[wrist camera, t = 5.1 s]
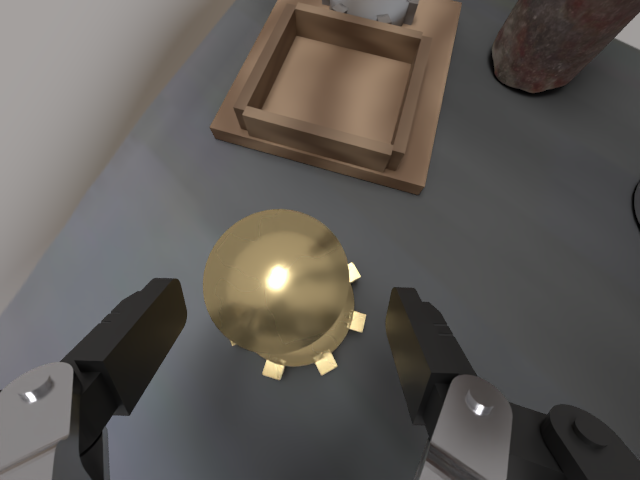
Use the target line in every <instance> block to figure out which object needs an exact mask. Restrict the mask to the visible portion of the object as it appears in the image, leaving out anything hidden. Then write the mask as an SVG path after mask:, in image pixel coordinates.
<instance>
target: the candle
mask: <svg viewBox="0 0 640 480" xmlns="http://www.w3.org/2000/svg"><path fill="white" fill-rule="evenodd" d="M639 12H640V0H518V2H517V3H516V5H515V6H514V8H513V10H512V11H511V13H510V15H509V16H508V18H507V20H506V21H505V23H504V25H503V26H502V28H501V29H500V31H499V33H498V35H497V37H496V39H495V41H494V43H493V46H492V58H493V62H494V69H495V71H494V73H495V75H496V77H497V78H498V80H499V81H501V82H502V83H503V84H506V85H507V86H510V87H513V88H519V89H522V90H524V91H526V92H530V93H537V92H542V91H545V90H548V89H554V88H557V87H562V86H564V85H566V84H568V83H569V82H570V81H571V80H572V79H573V78H574V77H575V76H576V75H577V74H578V73H579V72H580V71H581V70H582V69H583V68H584V67H585V66H586V65H587V64H588V63H589V62H590V61H591V60H592V59H593V58H594V57H595V56H596V55H597V54H599V53H600V52H601V51H602V50H603V49H604V48H605V47H606V46H607V45H608V44H609V43H610V42H611V41H612V40H613V39H614V38H615V37H616V36H617V34H618V33H619V32H620V31H621V30H622V29H623V28H624V27H625V26H626V25H627V24H628V23H629V22H630V21H631V20H632V19H633V18H634V17H635V16H636V15H637V14H638V13H639Z"/></svg>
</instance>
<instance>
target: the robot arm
mask: <svg viewBox="0 0 640 480" xmlns="http://www.w3.org/2000/svg"><path fill="white" fill-rule="evenodd" d="M634 206H635V211H636V216H637V219H638V221H639V224H640V183H639V184H638V186H637V189H636V191H635V198H634ZM186 319H187V309H186V305H185V301H184V296H183V292H182V288H181V284H180V281H179V280H178V279H172V278H154V279H152V280H151V281H150V282H149V283H148V284H147V285H146V286H145V287H144V288H143V289H142V290H141V291H137V292H136V293H134V294H132V295H130V296H129V297H127V298H125V299H124V300H122V301H121V302H120V303H119V304H118V305H117V306H116V307H115V308H114V309H113V310H112V311H111V314H108V315H107V316H106V317H105V318H104V319H103V320H102V321H101V324H100V323H99V324H98V325H97V326H96V327H95V328H94V329H93V330H92V331H91V332H90V333H89V334H88V335H87V336H86V337H85V338H84V339H83V340H82V341H80V342H79V343H78V344H77V345H76V346H75V347H74V348H73V349H72V350H71V351H70V352H69V353H68V354H67V355H66V356H65V357H64V358H63V359H62V360H61V361H60V362H55V363H49V364H45V365H42V366H39V367H37V368H34V369H32V370H30V371H28V372H26V373H24V374H23V375H21V376H19V377H18V378H16V379H15V380H14V381H12V382H11V383H10V384H8V385H7V386H6V387H5V388H4V389H3V390H0V480H110V469H109V447H108V431H107V428H106V424H107V423H108V421H109V420H110V418H111V417H112V415H121V416H129V415H130V414H131V412H132V410H133V409H134V407H135V406H136V404H137V402H138V401H139V399H140V397H141V396H142V394H143V393H144V391H145V389H146V388H147V386H148V385H149V383H150V381H151V380H152V378H153V376H154V375H155V373H156V372H157V370H158V368H159V367H160V365H161V363H162V362H163V360H164V359H165V357H166V355H167V354H168V352H169V350H170V349H171V347H172V346H173V344H174V342H175V341H176V339H177V337H178V336H179V334H180V333H181V331H182V329H183V328H184V326H185V323H186ZM386 333H387V337H388V341H389V344H390V348H391V351H392V355H393V358H394V362H395V365H396V368H397V372H398V375H399V379H400V382H401V386H402V389H403V393H404V396H405V400H406V403H407V407H408V410H409V413H410V417H411V420H412V424H413V425H425V426H426V429H427V432H428V435H429V437H428V440H427V442H426V445H425V448H424V451H423V453H422V456H421V459H420V462H419V465H418V468H417V470H416V473H415V476H414V479H413V480H640V461H639V460H638V459H637V458H636V457H635V455H634V454H633V453H632V452H631V451H630V450H629V448H628V447H627V446H626V445H625V444H624V442H623V441H622V440H621V439H620V438H619V437H618V436H617V435H616V433H615V432H614V431H613V430H611V429H610V428H609V427H608V426H607V425H606V424H604V423H603V422H602V421H601V420H599V419H598V418H596V417H595V416H593V415H591V414H590V413H588V412H586V411H584V410H582V409H580V408H577V407H574V406H571V405H565V404H560V405H556V406H554V407H553V408H552V409H551V410H550V412H549V413H548V414H547V415H546V414H543V413H540V412H537V411H534V410H531V409H528V408H525V407H522V406H519V405H515V404H513V403H510V402H508V401H507V399H506V398H505V397H504V395H503V394H502V393H501V392H500V391H499V390H498V389H497V388H496V387H495V386H493V385H492V384H490V383H489V382H487V381H486V380H484V379H482V378H479V377H478V376H477V375H476V373H475V371H474V370H473V368H472V366H471V365H470V363H469V361H468V359H467V358H466V356H465V354H464V352H463V351H462V349H461V347H460V346H459V344H458V342H457V340H456V339H455V337H454V336H453V333H452V332H451V330H450V328H449V327H448V326H447V323H446V321H445V320H444V318H443V316H442V314H441V313H440V312H439V311H438V310H437V309H436V308H435V307H434V306H433V305H431V304H430V303H429V302H422V301H421V299H420V297H419V295H418V293H417V291H416V289H415V288H401V287H394V288H393V289H392V292H391V296H390V301H389V306H388V311H387V316H386Z"/></svg>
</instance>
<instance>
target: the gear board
mask: <svg viewBox="0 0 640 480" xmlns="http://www.w3.org/2000/svg"><path fill="white" fill-rule="evenodd" d="M461 5H462V3H460V2H456V1H451V0H278V1H277V2H276V4H275V6H274V8H273V10H272V12H271V14H270V16H269V17H268V19H267V21H266V23H265V25H264V27H263V29H262V30H261V32H260V34H259V36H258V38H257V40H256V42H255V44H254V45H253V47H252V49H251V51H250V53H249V55H248V57H247V58H246V60H245V62H244V64H243V66H242V68H241V70H240V71H239V73H238V75H237V77H236V79H235V81H234V83H233V85H232V86H231V88H230V90H229V92H228V94H227V96H226V98H225V99H224V101H223V103H222V105H221V107H220V109H219V111H218V112H217V114H216V116H215V118H214V120H213V122H212V124H211V126H210V129H211V131H212V133H213V135H214V137H215V138H216V139H219V140H223V141H226V142H230V143H233V144H237V145H241V146H244V147H248V148H251V149H255V150H259V151H262V152H266V153H269V154H273V155H276V156H280V157H284V158H287V159H291V160H294V161H298V162H301V163H305V164H309V165H312V166H316V167H319V168H323V169H326V170H330V171H334V172H337V173H341V174H344V175H348V176H352V177H355V178H359V179H362V180H366V181H369V182H373V183H377V184H380V185H384V186H387V187H391V188H394V189H398V190H402V191H405V192H409V193H412V194H416V195H418V194H419V193H420V192H421V191H422V189H423V188H424V187H425V182H426V177H427V172H428V168H429V163H430V158H431V153H432V148H433V143H434V138H435V133H436V128H437V123H438V118H439V113H440V108H441V103H442V98H443V93H444V89H445V84H446V79H447V74H448V69H449V64H450V59H451V54H452V49H453V44H454V39H455V34H456V29H457V24H458V19H459V14H460V10H461Z"/></svg>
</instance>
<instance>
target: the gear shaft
mask: <svg viewBox="0 0 640 480" xmlns="http://www.w3.org/2000/svg"><path fill="white" fill-rule="evenodd" d="M360 277H361V276H360V274H359V273H358V271H357V269H356V267H355V266H354V264H353V262H352V263H350V264H348V262H347V258H346V255H345V252H344V250H343V248H342V246H341V244H340V242H339V241H338V239H337V238H336V236H335V235H334V234H333V233H332V232H331V231H330V230H329V229H328V228H327V227H326V226H325V225H324V224H323V223H321V222H320V221H318V220H317V219H315V218H313V217H311V216H309V215H307V214H304V213H301V212H297V211H293V210H285V209H273V210H266V211H262V212H258V213H255V214H252V215H250V216H247V217H245V218H244V219H242V220H240V221H238V222H237V223H235V224H234V225H233V226H231V227H230V228H229V229H228V230H227V231H226V232H225V233H224V234H223V235H222V236H221V237H220V238H219V240H218V241H217V243H216V244H215V246H214V247H213V249H212V251H211V253H210V255H209V257H208V260H207V263H206V266H205V271H204V277H203V294H204V300H205V304H206V307H207V310H208V312H209V315H210V317H211V319H212V321H213V322H214V324H215V325H216V326H217V328H218V329H219V330H220V331H221V332H222V333H223V335H224V336H226V337H227V338H228V339H229V340H230V342H231V344H232V346H235V345H238V346H240V347H242V348H244V349H247V350H249V351H253V352H256V353H257V354H259V355H260V356H261V357H263V358H264V359H266V360H267V361H266V364H265V367H264V370H263V373H262V375H265V376H268V377H271V378H274V379H277V380H280V379H281V378H282V376H283V374H284V370H285V367H286V366H291V367H294V366H304V365H309V364H312V363H315V364H316V366H317V368H318V370H319V372H320V374H321V376H322V375H324V374H325V373H327V372H329V371H330V370H332V369H334V368H335V367H337V364H336V362H335V360H334V358H333V356H332V354H331V353H332V352H333V351H334V350H335V349H336V348H337V347H338V346H339V345H340V343H341V342H342V341H343V339H344V338H345V336H346V335H347V333H348V330H349V329H350V330H353V331H356V332H362V331H363V327H364V323H365V318H366V315H365V314H362V313H359V312H356V311H354V295H353V290H352V286H351V284H352V283H354V282H355V281H357V280H358V279H359V278H360Z"/></svg>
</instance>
